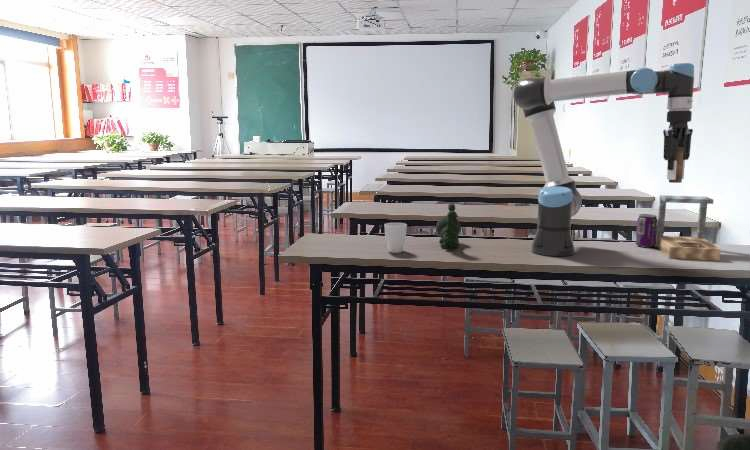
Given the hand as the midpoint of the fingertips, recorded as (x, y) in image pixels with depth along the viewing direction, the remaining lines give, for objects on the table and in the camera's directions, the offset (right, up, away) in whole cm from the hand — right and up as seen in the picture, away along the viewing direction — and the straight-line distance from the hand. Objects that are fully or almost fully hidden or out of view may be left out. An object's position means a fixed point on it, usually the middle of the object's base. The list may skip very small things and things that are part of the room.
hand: (675, 178), depth 205 cm
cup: (-97, -26, +13) cm, 101 cm away
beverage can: (0, -24, +22) cm, 33 cm away
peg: (0, -1, 0) cm, 1 cm away
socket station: (+9, -26, +11) cm, 30 cm away
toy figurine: (-76, -24, +22) cm, 82 cm away
